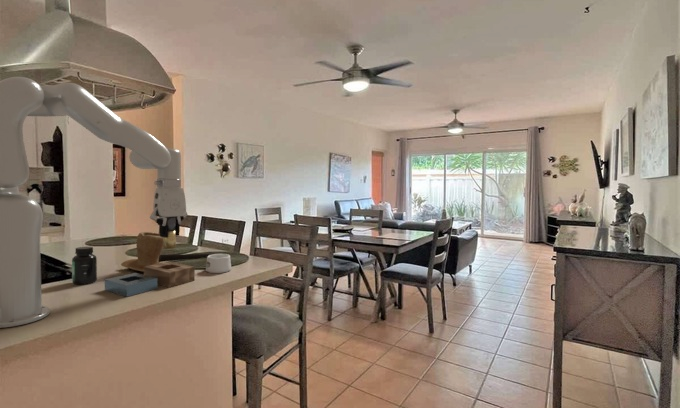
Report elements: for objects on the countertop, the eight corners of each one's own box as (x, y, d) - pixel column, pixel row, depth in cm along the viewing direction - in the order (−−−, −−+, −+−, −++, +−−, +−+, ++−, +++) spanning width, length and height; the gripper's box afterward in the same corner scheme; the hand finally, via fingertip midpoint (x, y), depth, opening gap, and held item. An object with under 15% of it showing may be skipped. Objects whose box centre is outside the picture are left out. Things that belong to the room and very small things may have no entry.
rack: (169, 287, 118) (169, 272, 118) (143, 280, 125) (143, 266, 124) (194, 280, 127) (194, 266, 126) (169, 274, 133) (169, 261, 133)
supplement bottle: (69, 286, 116) (69, 250, 115) (75, 280, 122) (74, 246, 122) (94, 284, 119) (94, 249, 118) (98, 278, 125) (98, 245, 125)
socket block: (126, 296, 108) (126, 285, 107) (104, 290, 113) (104, 279, 113) (157, 288, 116) (157, 278, 116) (135, 282, 122) (135, 272, 122)
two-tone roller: (168, 249, 122) (168, 214, 122) (161, 247, 124) (160, 213, 123) (178, 247, 126) (178, 213, 125) (171, 245, 128) (170, 213, 127)
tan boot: (171, 269, 141) (171, 232, 140) (141, 276, 131) (141, 235, 130) (149, 264, 149) (149, 228, 148) (120, 269, 138) (119, 231, 137)
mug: (235, 271, 142) (235, 256, 141) (212, 275, 135) (212, 259, 134) (221, 265, 150) (221, 251, 150) (198, 269, 143) (198, 254, 143)
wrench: (216, 262, 163) (145, 267, 143) (211, 261, 167) (141, 265, 146) (217, 251, 163) (145, 254, 143) (212, 249, 167) (142, 252, 146)
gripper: (153, 184, 114) (154, 240, 116) (196, 184, 129) (196, 234, 130) (139, 184, 118) (140, 238, 119) (182, 184, 133) (183, 232, 134)
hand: (169, 235), depth 125 cm, fingers closed on two-tone roller, 4 cm apart
